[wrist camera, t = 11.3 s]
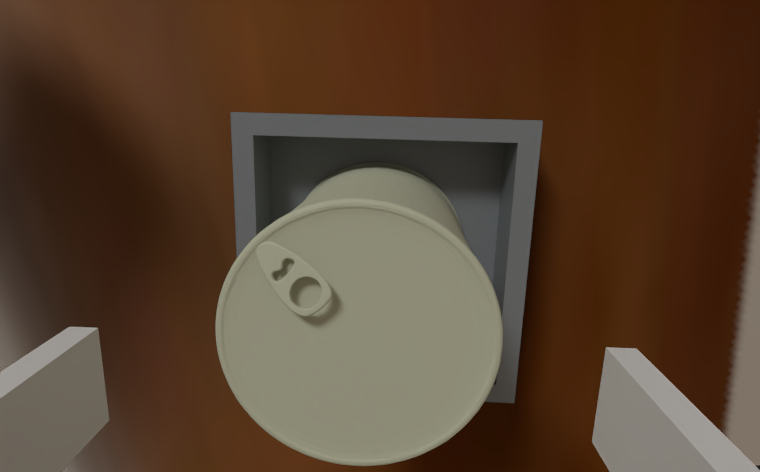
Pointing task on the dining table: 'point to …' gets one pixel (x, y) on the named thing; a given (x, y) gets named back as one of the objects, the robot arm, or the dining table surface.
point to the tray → (422, 154)
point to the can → (361, 321)
